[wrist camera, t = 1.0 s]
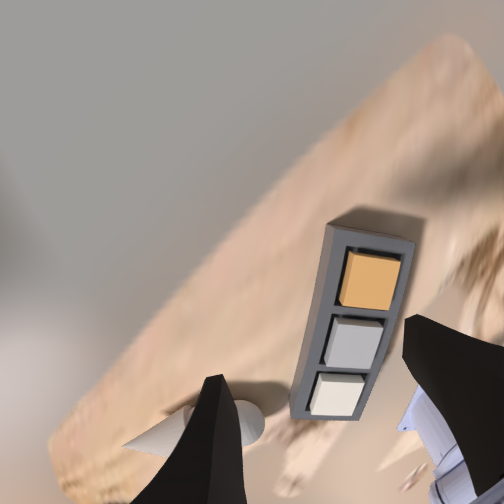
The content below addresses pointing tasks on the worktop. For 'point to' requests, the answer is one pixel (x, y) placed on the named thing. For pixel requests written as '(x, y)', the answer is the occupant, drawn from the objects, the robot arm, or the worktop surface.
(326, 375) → the cream key
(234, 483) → the robot arm
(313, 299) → the grey compartment tray
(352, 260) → the amber key
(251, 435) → the ice cream cone
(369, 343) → the grey key
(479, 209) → the worktop surface
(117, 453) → the worktop surface
